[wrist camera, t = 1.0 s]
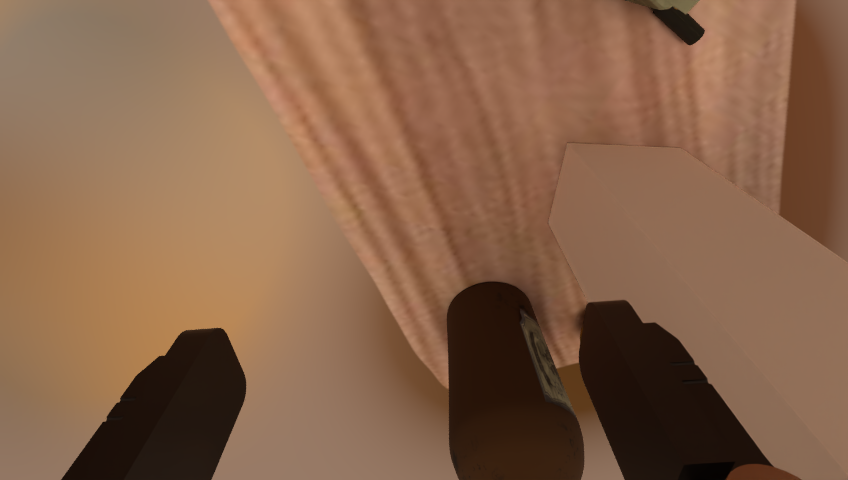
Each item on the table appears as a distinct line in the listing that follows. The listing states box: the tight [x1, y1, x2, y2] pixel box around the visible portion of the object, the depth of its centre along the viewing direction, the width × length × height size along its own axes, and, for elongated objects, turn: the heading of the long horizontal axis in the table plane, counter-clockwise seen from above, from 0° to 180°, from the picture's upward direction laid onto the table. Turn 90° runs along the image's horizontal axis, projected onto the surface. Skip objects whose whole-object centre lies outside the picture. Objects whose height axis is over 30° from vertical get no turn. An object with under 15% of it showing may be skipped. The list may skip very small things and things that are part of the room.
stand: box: [548, 143, 848, 480], centre depth 25 cm, size 8×10×32 cm
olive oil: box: [447, 283, 584, 480], centre depth 36 cm, size 11×11×25 cm
